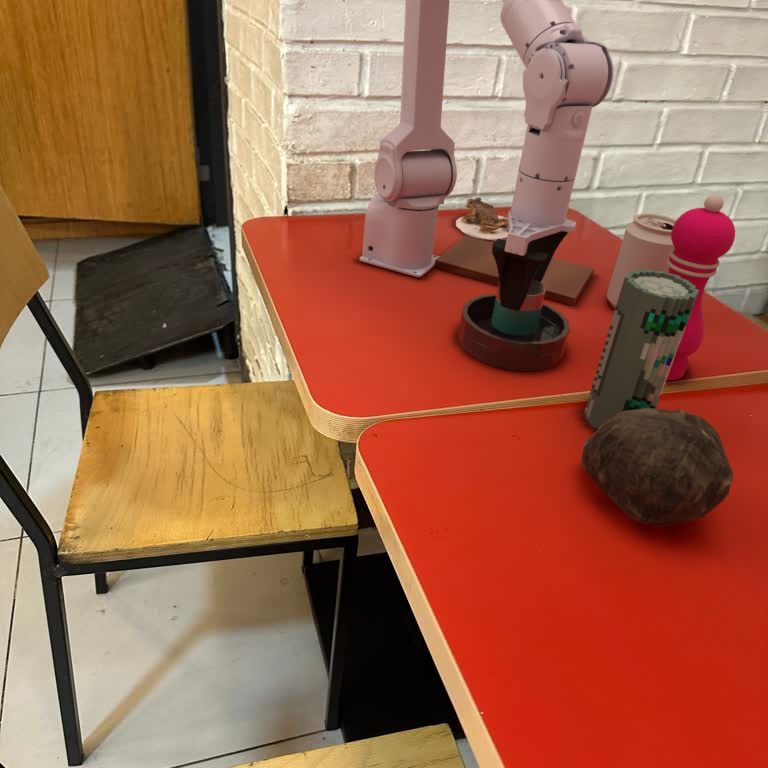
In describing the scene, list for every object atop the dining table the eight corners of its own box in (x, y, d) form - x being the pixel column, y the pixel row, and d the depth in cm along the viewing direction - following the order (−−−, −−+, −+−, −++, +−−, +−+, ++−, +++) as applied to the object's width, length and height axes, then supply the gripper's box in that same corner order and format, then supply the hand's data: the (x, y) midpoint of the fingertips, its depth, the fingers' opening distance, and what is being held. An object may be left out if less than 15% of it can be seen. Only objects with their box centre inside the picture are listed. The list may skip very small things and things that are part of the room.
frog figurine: (438, 223, 113) (441, 200, 111) (485, 211, 121) (489, 189, 119) (492, 246, 107) (496, 222, 105) (538, 232, 114) (543, 210, 112)
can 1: (665, 323, 89) (696, 235, 83) (606, 314, 90) (632, 225, 84) (658, 299, 95) (686, 215, 89) (602, 290, 96) (627, 206, 90)
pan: (442, 350, 78) (446, 322, 76) (478, 310, 88) (483, 284, 86) (546, 383, 74) (554, 355, 72) (573, 337, 84) (580, 311, 82)
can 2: (638, 447, 66) (690, 305, 58) (577, 423, 68) (618, 284, 60) (653, 418, 70) (703, 282, 62) (595, 396, 73) (636, 263, 65)
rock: (591, 433, 65) (633, 352, 59) (708, 493, 62) (766, 415, 55) (552, 499, 59) (593, 416, 52) (680, 571, 55) (743, 493, 48)
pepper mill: (687, 359, 82) (751, 192, 71) (689, 389, 76) (759, 212, 65) (624, 345, 83) (678, 179, 72) (622, 373, 77) (679, 197, 67)
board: (433, 267, 98) (435, 259, 97) (463, 242, 107) (465, 235, 106) (573, 306, 91) (575, 297, 91) (592, 276, 100) (594, 268, 100)
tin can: (481, 342, 79) (492, 287, 76) (496, 324, 84) (507, 271, 80) (526, 356, 78) (539, 300, 74) (538, 337, 82) (551, 283, 78)
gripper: (568, 199, 63) (537, 330, 70) (600, 166, 74) (570, 282, 82) (495, 183, 65) (472, 311, 73) (537, 153, 77) (513, 267, 84)
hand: (520, 295), depth 77 cm, fingers open, 7 cm apart
